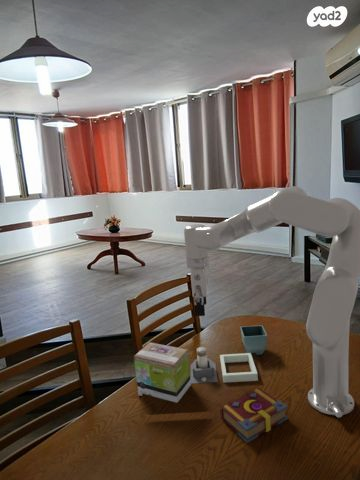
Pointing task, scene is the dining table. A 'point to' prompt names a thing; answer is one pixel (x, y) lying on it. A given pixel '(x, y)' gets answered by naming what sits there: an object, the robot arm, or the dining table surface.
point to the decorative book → (253, 414)
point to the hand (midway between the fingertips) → (201, 309)
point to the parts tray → (242, 375)
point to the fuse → (202, 357)
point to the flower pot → (254, 339)
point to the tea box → (162, 371)
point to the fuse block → (203, 372)
